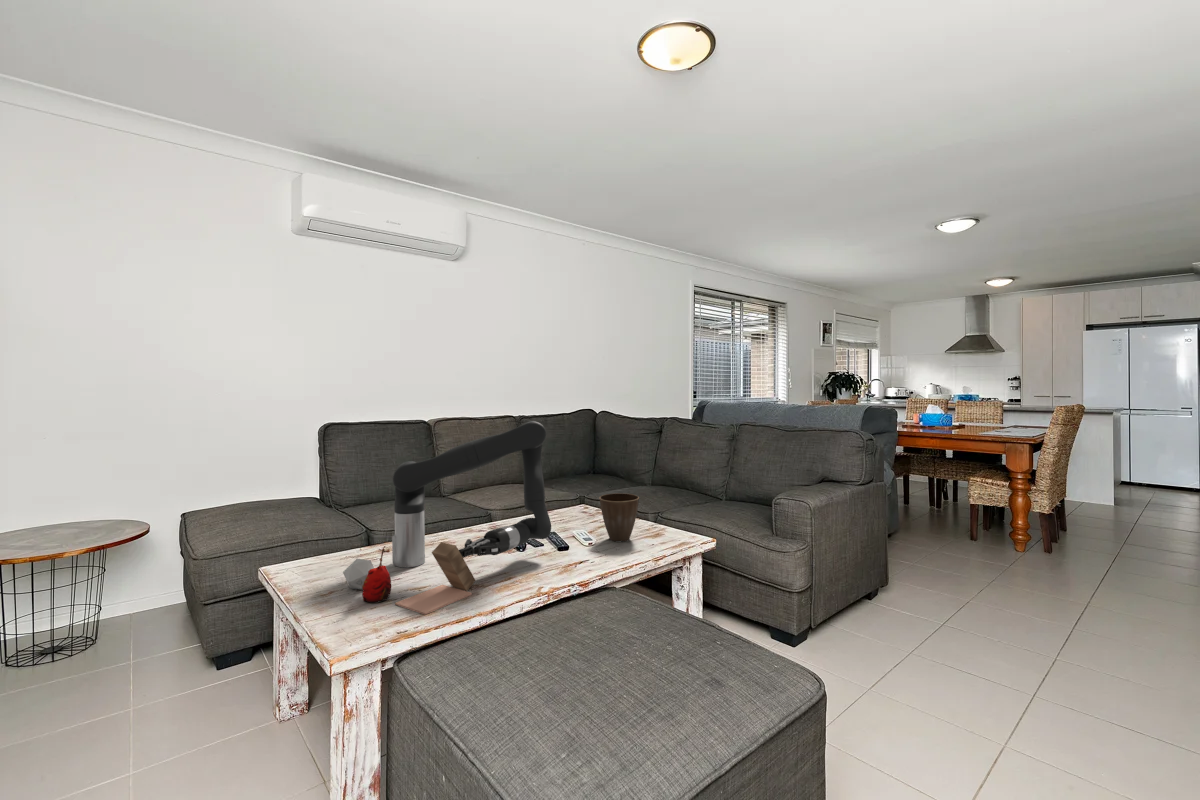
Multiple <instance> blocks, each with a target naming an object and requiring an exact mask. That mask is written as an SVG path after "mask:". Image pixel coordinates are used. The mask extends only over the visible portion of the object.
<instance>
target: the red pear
mask: <svg viewBox="0 0 1200 800" xmlns="http://www.w3.org/2000/svg"><path fill="white" fill-rule="evenodd" d="M385 548H386V545H384V546H383V548H382V549H381V548H378V550H379V551H380V552H381V555H380V558H379V565H378V566H377V567H374V569H370V570H369V571H368V575H367V577H366V579H365V581H364V584H363V586H362V589H363V590H362V594H361V596H362V601H363V602H365V603H370V604H373V603H374V604H376V603H381V602H384V601H386V600H388V599H389V597H390V595H391V592H392V578H391V575H390V572H389V571H388V569H387V565H384V564H383V565H382V563H383V555H384V553H390V549H387V550H385Z"/></svg>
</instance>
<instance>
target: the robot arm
mask: <svg viewBox="0 0 1200 800" xmlns="http://www.w3.org/2000/svg"><path fill="white" fill-rule="evenodd" d="M546 439H547V430H546V428H545V426H544V425H543V424H542V423H540V422H538V421H535V420H532V421H527V422H525V423H523V424H521V425H519V426H516V427H514V428H512V429H510V430H507V431H505V432H502V433H499V434H494V435H490V436H489V435H488V436H484V437H481V438H477V439H473V440H471V441H468V442H465V443H462V444H459V445H457V446H453V447H452V448H450V449H448V450H446V451H444V452H442V453H440V454H438V455H437V456H434V457H431V458H428V459H424V460H422V461H417V462H416V461H412V460H409V461H404V462H402V463H400V464H399V465H398V466H397V468H396V469H395V471H394V473H393V475H392V483H393V485H394V489H395V490H394V491H395V493H394V495H395V496H394V506H393V507H394V535H392V536H391V544H392V545H391V548H392V549H391V551H392V555H391V556H392V558H391V559H392V566H395V567H399V568H412V567H413V568H414V567H418V566H421V565H423V564H424V563H425V562H426V559H425V558H426V550H425V549H426V547H425V546H426V544H425V543H426V541H425V539H426V538H425V536H426V535H425V534H426V533H425V530H426V529H425V499H426V498H425V495H426V494H425V493H426V491H425V489H426V488H425V487H426V486H427V485H429V484H432V483H433V482H436V481H439V480H441V479H444V478H449V477H453V476H457V475H460V474H463V473H466V472H470V471H472V470H477V469H479V468H482V467H485V466H487V465H489V464H491V463H494V462H495V461H498V460H499V459H501V458H503V457H505V456H508V455H510V454H513V453H516V452H517V453H518V452H521V454H522V462H523V463H522V464H523V501H524V502H523V503H524V508H525V510H527V511H529V512H531V513H532V514H533V517H527V518H523V519H521V520H519V521H518V522H516V523H513V524H510V525H504V526H501V527H498V528H494V529H491V530H488V531H487V532H486V533H484V536H483V537H481V538H480V537H479V538H478V539H476V540H474V541H473V540H472V539H471V538H468V539H466V541H465V543H464V547H463V548H458V550H459V552H460V553H461V555H462V557H463V559H464V558H467V557H469V556H476V555H477V556H478V557H481V556H490V555H491V556H498V555H499V554H502V553H506V552H509V551H511V550H513V549H514V548H517V547H519V546H522V545H523V544H526V543H527V542H528V541H529V540H545V539H547V538H548V537H549V536H550V535H551V532H552V522H551V518H550V515H549V512H548V509H547V506H546V496H545V495H546V494H545V483H544V481H545V480H544V473H543V467H542V449H543V444H544V442H545V440H546Z"/></svg>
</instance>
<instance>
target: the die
mask: <svg viewBox="0 0 1200 800" xmlns="http://www.w3.org/2000/svg"><path fill="white" fill-rule="evenodd" d="M372 562H373V561H372V560H370V559H363V558H356V559H354V561H353V562H352V563H350V565H348V566H347V567H346V569H344V571H342V574H343V576H344V578H345V581H346V582H347V585H348V587H349V589H355V590H360V591H361V590H362V591H363V589H362V586H363V584H364V581H365V579H366V577H367V575H368V571H369V570H370V569H374V568H375V567H374V565H373V563H372Z"/></svg>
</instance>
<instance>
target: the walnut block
mask: <svg viewBox="0 0 1200 800" xmlns="http://www.w3.org/2000/svg"><path fill="white" fill-rule="evenodd" d="M431 554H432V556H433V558H434V559H435V561H436V563H437V564H438V566H439V568H440V570H441V571H442V572H443V575H444V576H445V577H446V579H447V581H448V582H449V585H450V587H453V588H457V589H460V590H464V591H467V592H469V590H470V588H471V587H472V586H473V585H474V583H475V582H476V579H475V576H474V575H473V573H472V572H471V569H470V567H469V566H468V564H467V562H466V561H465V559H464V558H463V557H462V555H461V553H460V552H459V548H458V546H457V545H455V544H452V543H446V542H440V543H439V544H438V545H437V546H436V547H435V548H434V549H433V550H432V552H431Z"/></svg>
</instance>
